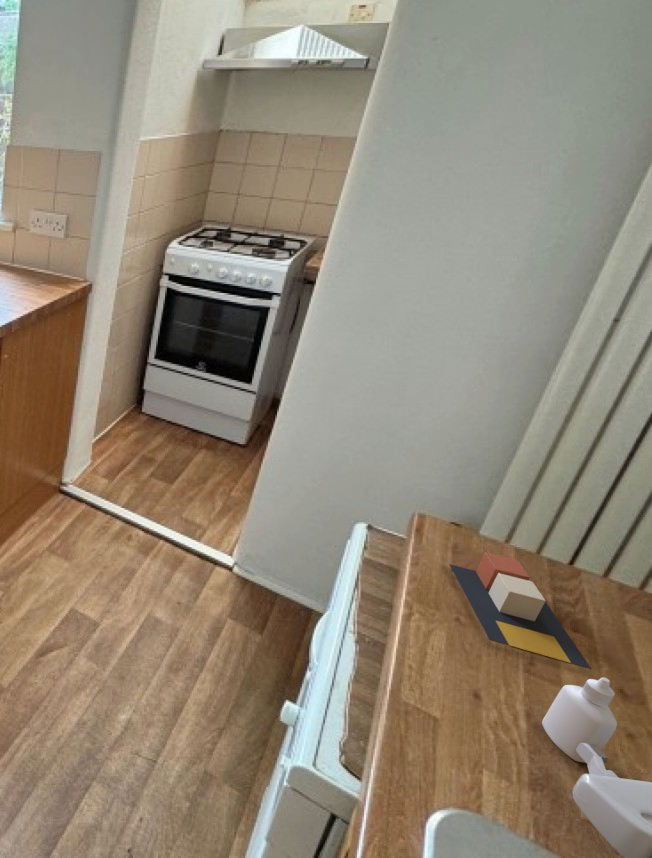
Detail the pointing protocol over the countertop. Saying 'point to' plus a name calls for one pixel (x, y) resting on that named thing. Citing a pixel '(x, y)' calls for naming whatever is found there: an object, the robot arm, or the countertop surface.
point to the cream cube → (516, 597)
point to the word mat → (518, 624)
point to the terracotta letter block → (498, 569)
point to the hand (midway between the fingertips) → (628, 751)
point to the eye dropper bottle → (581, 717)
